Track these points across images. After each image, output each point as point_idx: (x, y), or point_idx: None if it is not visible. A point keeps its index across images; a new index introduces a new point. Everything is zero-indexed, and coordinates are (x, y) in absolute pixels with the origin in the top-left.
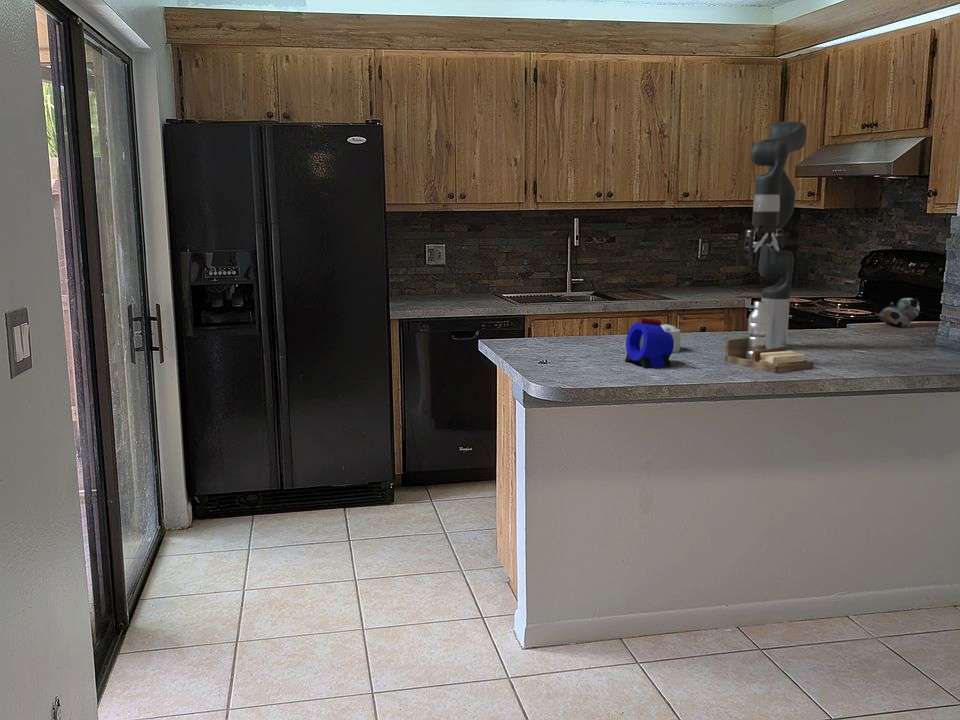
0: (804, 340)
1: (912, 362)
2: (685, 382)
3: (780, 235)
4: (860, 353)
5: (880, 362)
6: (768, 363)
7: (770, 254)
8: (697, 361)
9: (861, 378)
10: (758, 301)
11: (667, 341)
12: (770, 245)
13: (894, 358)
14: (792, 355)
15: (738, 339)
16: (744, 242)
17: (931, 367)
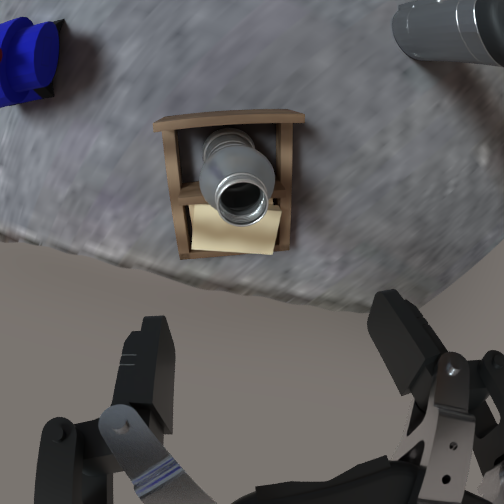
0: None
1: (455, 248)
2: (24, 226)
3: (480, 484)
4: (471, 168)
5: (433, 230)
6: (192, 227)
7: (408, 342)
8: (137, 58)
9: (307, 300)
10: (252, 183)
11: (24, 86)
12: (419, 425)
13: (466, 219)
14: (242, 251)
15: (192, 127)
16: (36, 483)
17: (439, 278)
